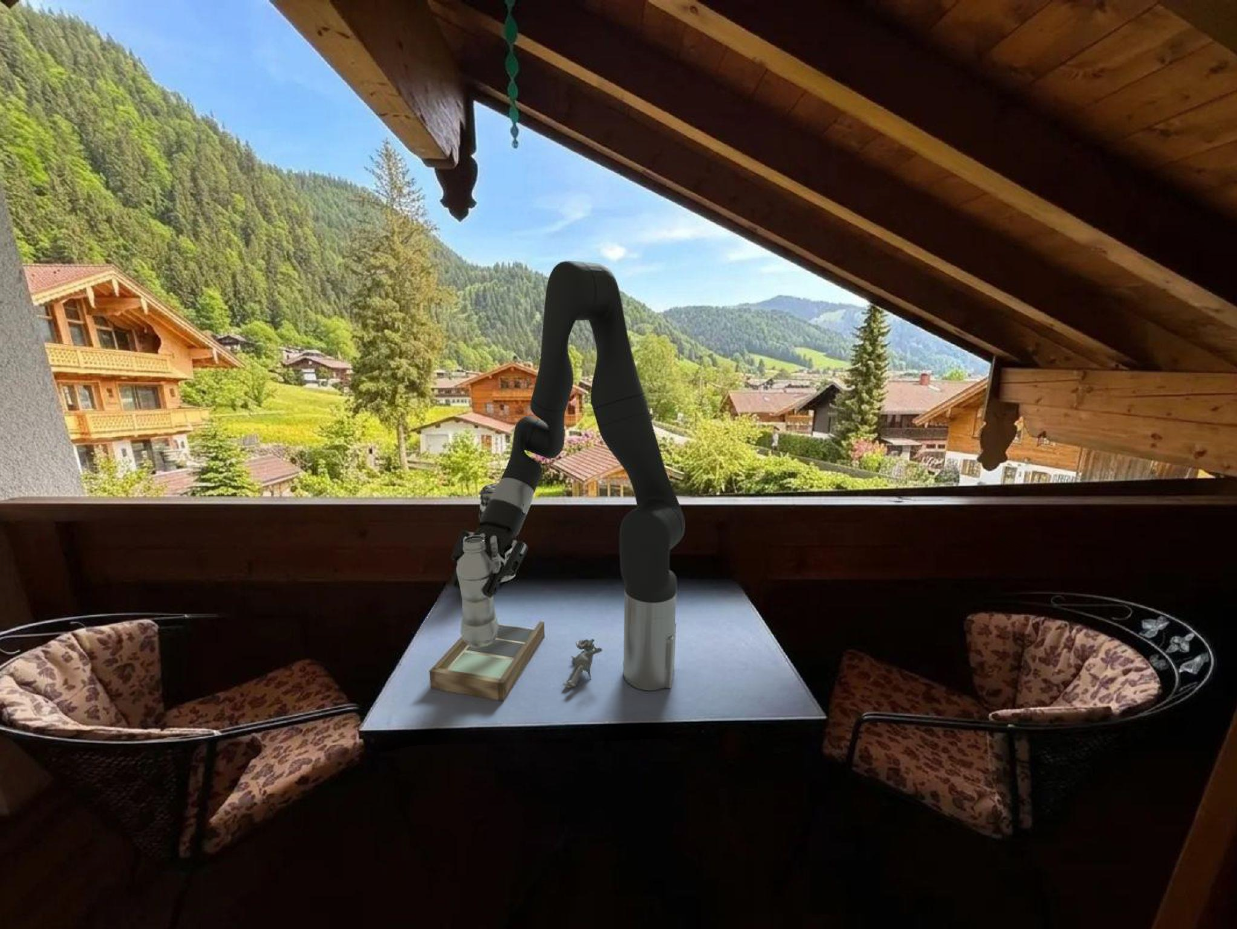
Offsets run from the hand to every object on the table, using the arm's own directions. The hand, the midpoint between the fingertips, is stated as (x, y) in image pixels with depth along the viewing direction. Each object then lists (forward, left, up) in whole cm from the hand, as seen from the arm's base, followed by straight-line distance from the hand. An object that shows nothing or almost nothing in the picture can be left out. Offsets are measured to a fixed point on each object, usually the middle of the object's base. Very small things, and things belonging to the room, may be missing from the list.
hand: (470, 591), depth 80 cm
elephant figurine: (-19, -5, -18) cm, 27 cm away
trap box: (0, -6, -18) cm, 19 cm away
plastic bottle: (0, -2, -11) cm, 11 cm away
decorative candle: (+15, -39, -18) cm, 45 cm away
